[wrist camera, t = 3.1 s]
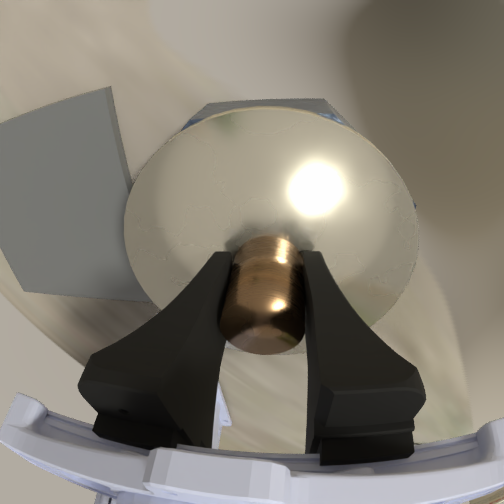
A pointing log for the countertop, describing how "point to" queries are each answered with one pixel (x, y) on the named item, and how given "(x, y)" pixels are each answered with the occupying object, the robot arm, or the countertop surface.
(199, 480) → the robot arm
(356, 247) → the lid
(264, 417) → the countertop surface
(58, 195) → the coaster
